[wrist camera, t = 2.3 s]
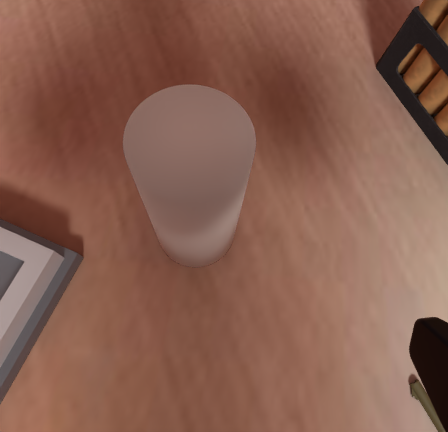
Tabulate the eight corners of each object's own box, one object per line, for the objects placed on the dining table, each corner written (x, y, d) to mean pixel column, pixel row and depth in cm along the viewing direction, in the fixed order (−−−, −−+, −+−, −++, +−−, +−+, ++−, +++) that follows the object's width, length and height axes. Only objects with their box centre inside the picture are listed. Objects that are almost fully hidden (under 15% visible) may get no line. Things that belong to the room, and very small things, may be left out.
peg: (245, 211, 23) (275, 112, 13) (216, 279, 21) (224, 222, 12) (177, 183, 23) (159, 67, 14) (144, 248, 22) (97, 169, 12)
